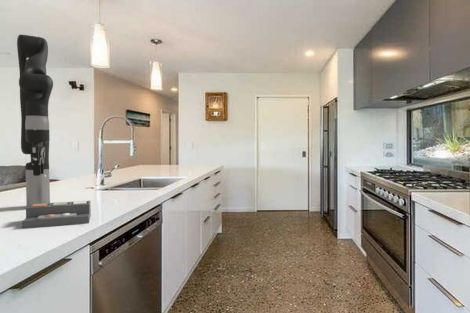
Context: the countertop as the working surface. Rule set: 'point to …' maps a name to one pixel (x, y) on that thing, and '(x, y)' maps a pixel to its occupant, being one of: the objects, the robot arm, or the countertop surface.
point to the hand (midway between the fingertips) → (38, 174)
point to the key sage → (60, 204)
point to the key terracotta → (39, 205)
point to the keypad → (57, 215)
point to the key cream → (80, 202)
